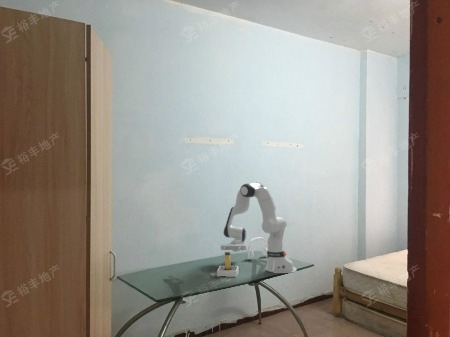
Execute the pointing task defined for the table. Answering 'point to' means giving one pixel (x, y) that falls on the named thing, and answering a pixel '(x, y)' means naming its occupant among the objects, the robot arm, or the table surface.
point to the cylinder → (227, 261)
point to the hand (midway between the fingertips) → (231, 249)
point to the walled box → (228, 271)
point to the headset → (264, 249)
